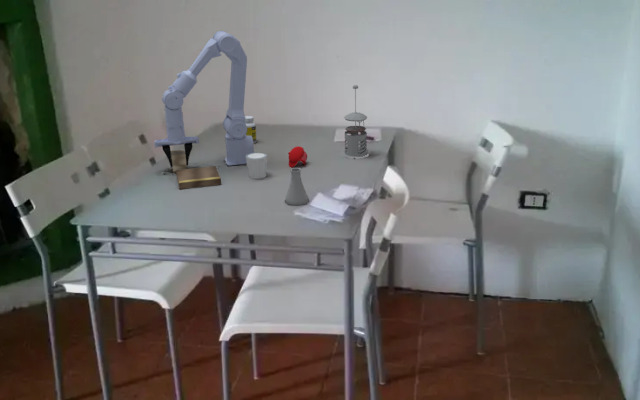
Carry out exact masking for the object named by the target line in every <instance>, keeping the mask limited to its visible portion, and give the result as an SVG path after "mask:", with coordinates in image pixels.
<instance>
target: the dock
mask: <svg viewBox="0 0 640 400" xmlns="http://www.w3.org/2000/svg"><path fill="white" fill-rule="evenodd" d="M175 174H176V179H177V184H178V189H179V190H184V189H192V188H193V189H194V188H195V189H196V188H201V187H202V188H203V187H210V186H211V187H212V186H213V187H214V186H221V185H222V179H221V176H220V174H219V171H218V169H217V166H216V165H214V166H205V167H195V168H187V169H183V170H176V173H175Z"/></svg>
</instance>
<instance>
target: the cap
mask: <svg viewBox="0 0 640 400" xmlns="http://www.w3.org/2000/svg"><path fill="white" fill-rule="evenodd" d="M287 153H288V167H289V168H290V167H291V168H296V166H297V165H298V163H299V162H301V164H302V165H303V164H304V165H303V166H305V165H306V163H307V161H308V160H307V159H308V154H307V152H306V151H305V149H304V147H302V146H298V145H297V146H295V147H293V148H291V150H289V152H287ZM291 168H290V169H291Z"/></svg>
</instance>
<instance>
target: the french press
mask: <svg viewBox="0 0 640 400" xmlns="http://www.w3.org/2000/svg"><path fill="white" fill-rule="evenodd" d="M352 89H354V100H355V101H354V108H355V109H354V112H350V113H347V114H346V115H344V116H343V119H345V121H348V122H354V123H355V124H354V125H350V126H346V127H345V131H344V151H343V153H342V154H343V155H344V156H347V157H363V156H365V155H367V154H368V153H369V152H368V148H367V146H368V145H367V143H368V141H367V140H368V137H367V136H368V134H367V131H366V130H367V128H366V127H365V126H364V125H365V122H364V121H366V120H367V119H368V116H367V115H365V114H364V113H362V112H357V93H356V92H357V91H356V90H357V89H359V85H357V84H353V85H352ZM357 123H358V125H357ZM361 123H363V126H362V125H361Z"/></svg>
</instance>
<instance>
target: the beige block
mask: <svg viewBox="0 0 640 400" xmlns="http://www.w3.org/2000/svg"><path fill="white" fill-rule="evenodd" d="M171 159H172V165H173V167H171V168H172V173H173V174H176V170H183V169H188V167H187V165H186V155H185V148H184V149H175V150H171Z"/></svg>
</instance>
